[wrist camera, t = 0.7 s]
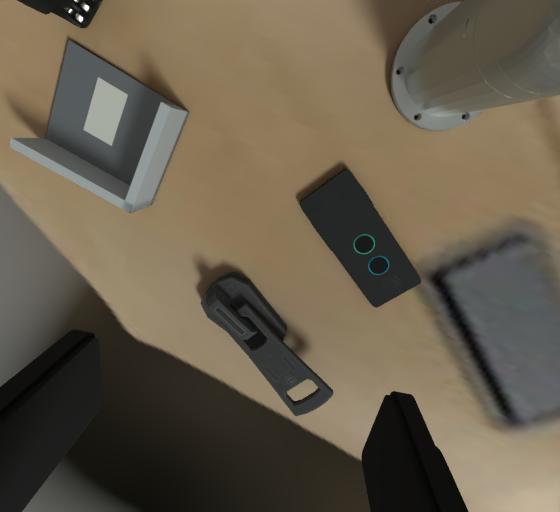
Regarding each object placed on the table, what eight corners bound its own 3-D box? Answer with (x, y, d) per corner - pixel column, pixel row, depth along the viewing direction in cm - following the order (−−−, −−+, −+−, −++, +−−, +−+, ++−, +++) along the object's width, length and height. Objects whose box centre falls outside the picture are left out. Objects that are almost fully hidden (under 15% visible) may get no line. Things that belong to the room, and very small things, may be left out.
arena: (72, 41, 36) (33, 24, 31) (189, 112, 38) (170, 107, 33) (47, 146, 41) (9, 146, 36) (151, 204, 43) (130, 213, 38)
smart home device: (374, 310, 45) (297, 204, 40) (371, 304, 47) (297, 202, 42) (424, 281, 43) (349, 166, 38) (420, 276, 44) (347, 166, 39)
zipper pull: (295, 422, 47) (181, 318, 42) (296, 389, 54) (196, 296, 48) (340, 396, 45) (224, 282, 39) (335, 365, 51) (234, 263, 46)
